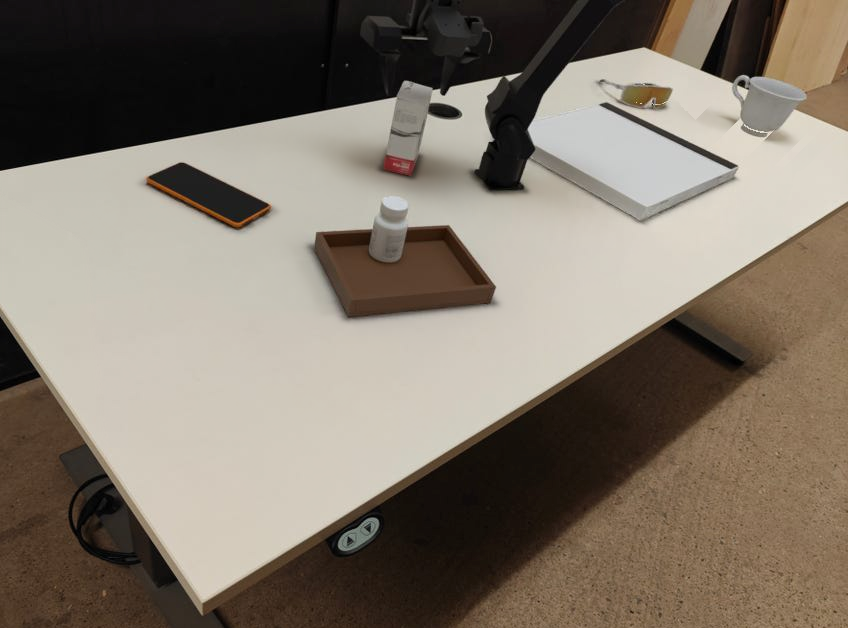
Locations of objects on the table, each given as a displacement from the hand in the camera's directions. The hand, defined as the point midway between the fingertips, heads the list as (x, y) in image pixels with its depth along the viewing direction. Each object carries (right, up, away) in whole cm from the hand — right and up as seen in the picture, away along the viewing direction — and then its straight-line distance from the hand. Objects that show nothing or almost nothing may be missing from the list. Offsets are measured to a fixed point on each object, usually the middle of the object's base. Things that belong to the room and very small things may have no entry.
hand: (415, 94), depth 102 cm
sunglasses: (+54, +21, +54) cm, 79 cm away
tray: (-3, -29, -15) cm, 33 cm away
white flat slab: (+40, -3, +25) cm, 47 cm away
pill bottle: (-5, -27, -13) cm, 30 cm away
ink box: (-2, -8, +9) cm, 12 cm away
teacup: (+78, +12, +49) cm, 94 cm away
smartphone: (-29, -18, -8) cm, 35 cm away
